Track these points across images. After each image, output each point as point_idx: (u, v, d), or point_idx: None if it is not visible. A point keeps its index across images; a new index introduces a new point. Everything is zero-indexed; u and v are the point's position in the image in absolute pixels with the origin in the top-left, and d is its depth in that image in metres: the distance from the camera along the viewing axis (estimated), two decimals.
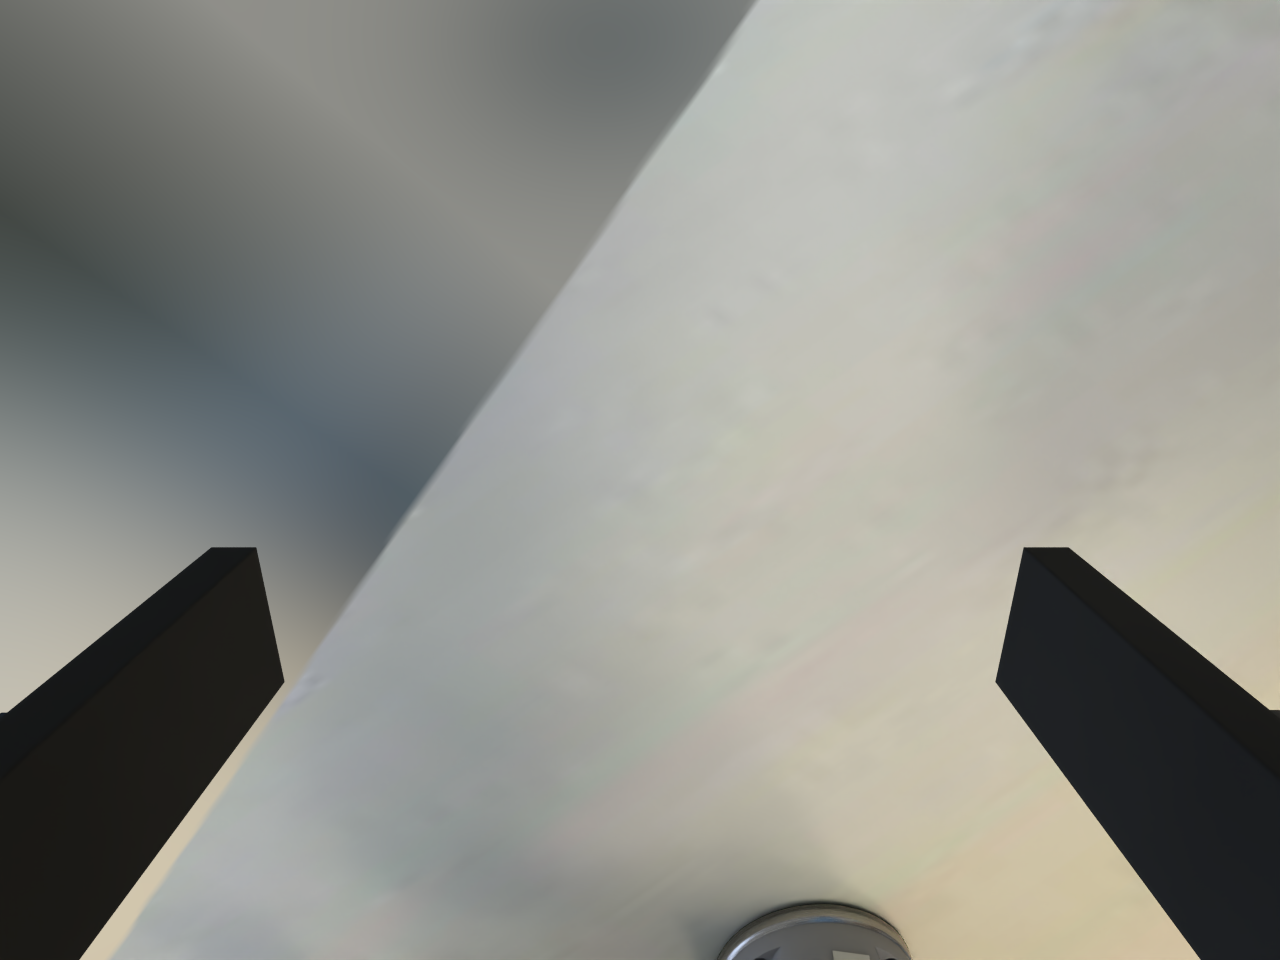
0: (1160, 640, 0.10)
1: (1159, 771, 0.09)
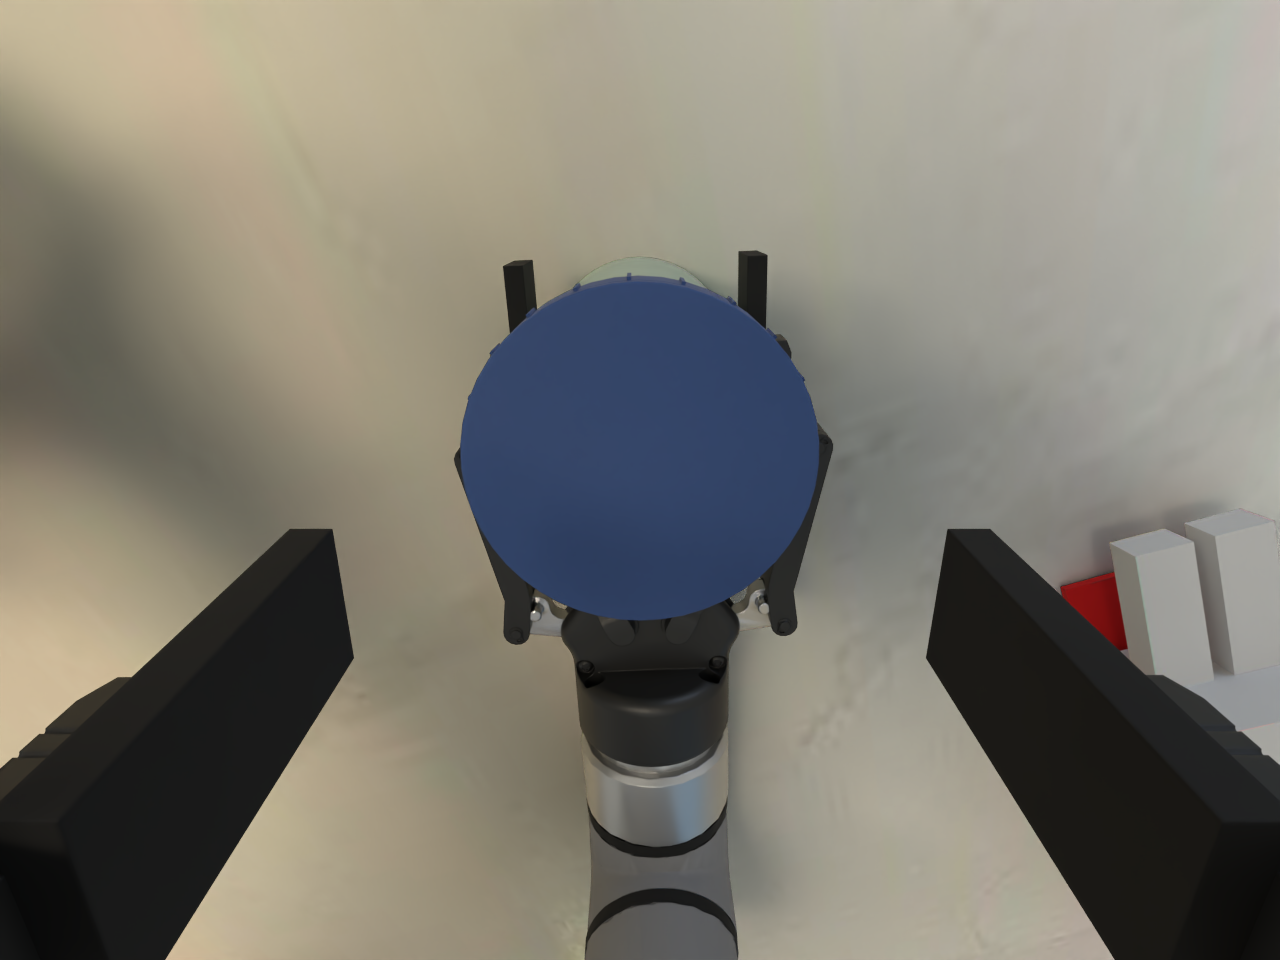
0: (1055, 611, 0.10)
1: (1048, 730, 0.10)
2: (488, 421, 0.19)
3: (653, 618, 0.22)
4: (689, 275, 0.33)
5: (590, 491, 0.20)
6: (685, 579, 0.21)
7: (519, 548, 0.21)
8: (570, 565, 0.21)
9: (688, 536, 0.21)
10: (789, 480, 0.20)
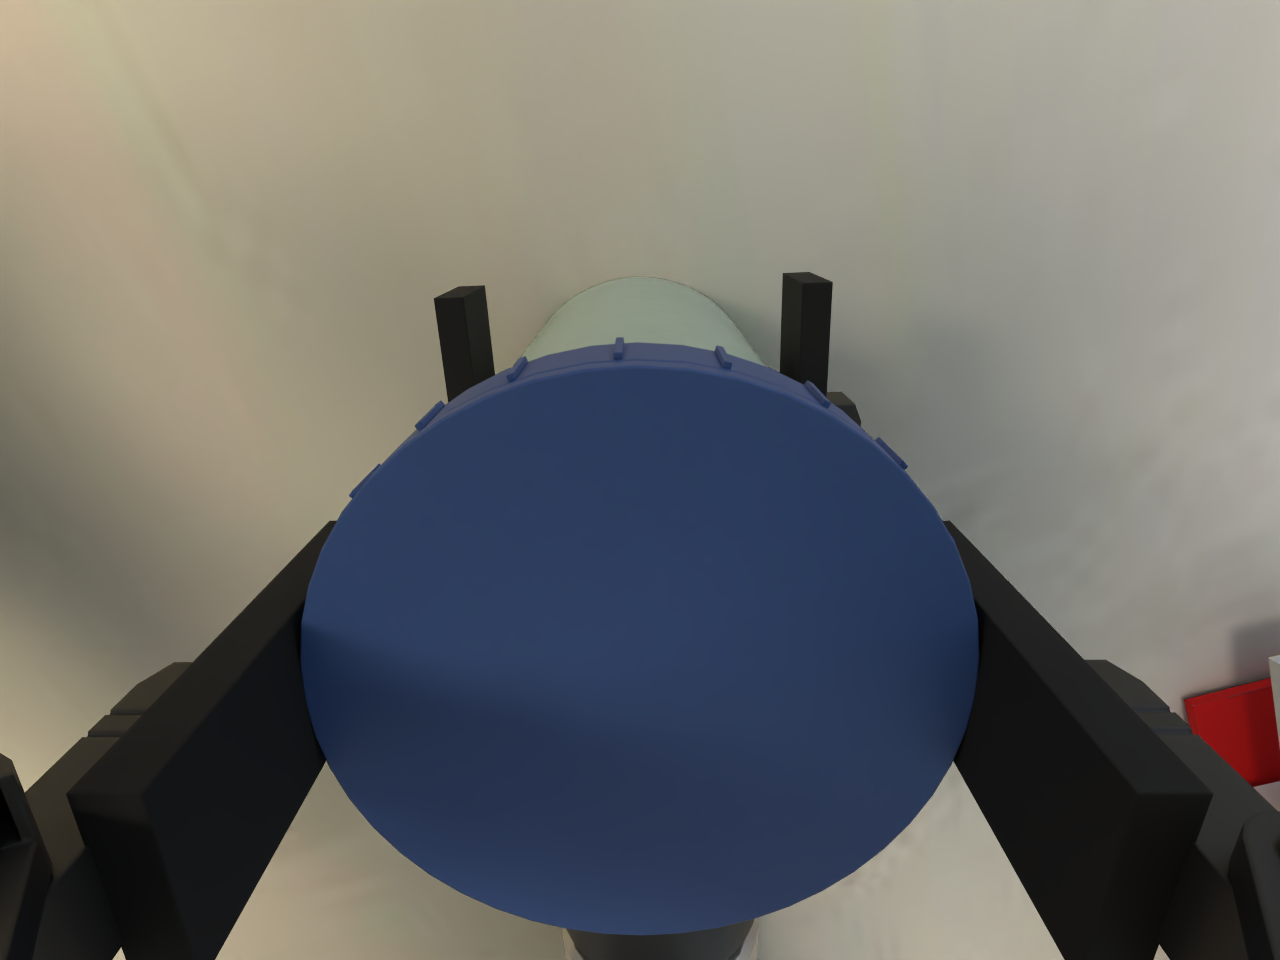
0: (1003, 598, 0.11)
1: (993, 713, 0.10)
2: (349, 623, 0.10)
3: (663, 933, 0.12)
4: (709, 304, 0.23)
5: (548, 739, 0.11)
6: (721, 875, 0.12)
7: (421, 829, 0.11)
8: (515, 854, 0.12)
9: (728, 810, 0.11)
10: (918, 721, 0.11)
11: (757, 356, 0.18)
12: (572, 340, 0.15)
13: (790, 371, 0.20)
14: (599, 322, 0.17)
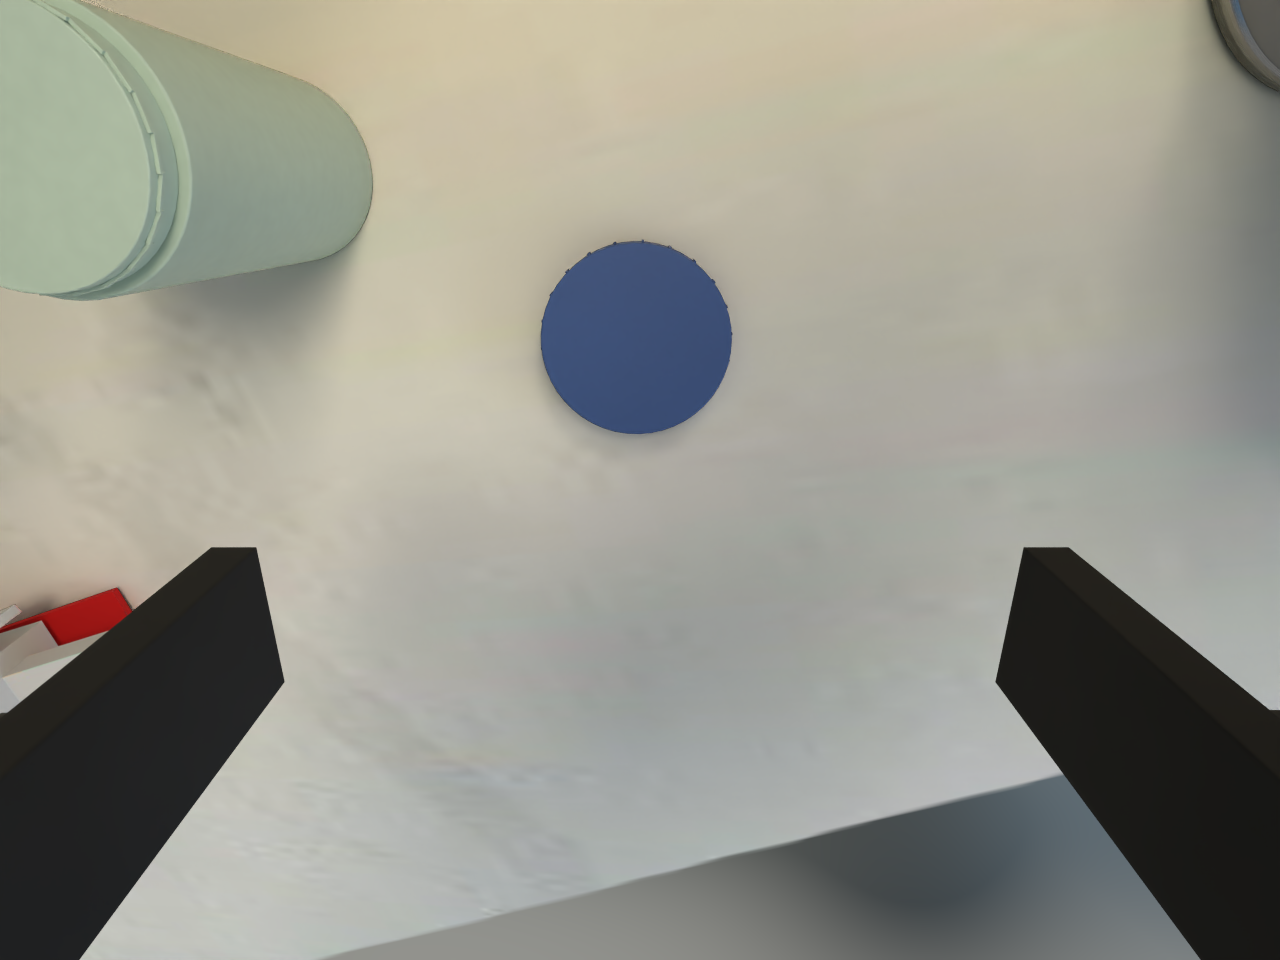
0: (1160, 640, 0.10)
1: (1159, 771, 0.09)
2: (614, 419, 0.39)
3: (730, 333, 0.37)
4: (346, 223, 0.34)
5: (651, 369, 0.38)
6: (704, 315, 0.37)
7: (684, 406, 0.39)
8: (695, 380, 0.38)
9: (677, 314, 0.37)
10: (643, 259, 0.36)
11: (284, 246, 0.30)
12: (252, 119, 0.25)
13: None
14: (278, 138, 0.27)
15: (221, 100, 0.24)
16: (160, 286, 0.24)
